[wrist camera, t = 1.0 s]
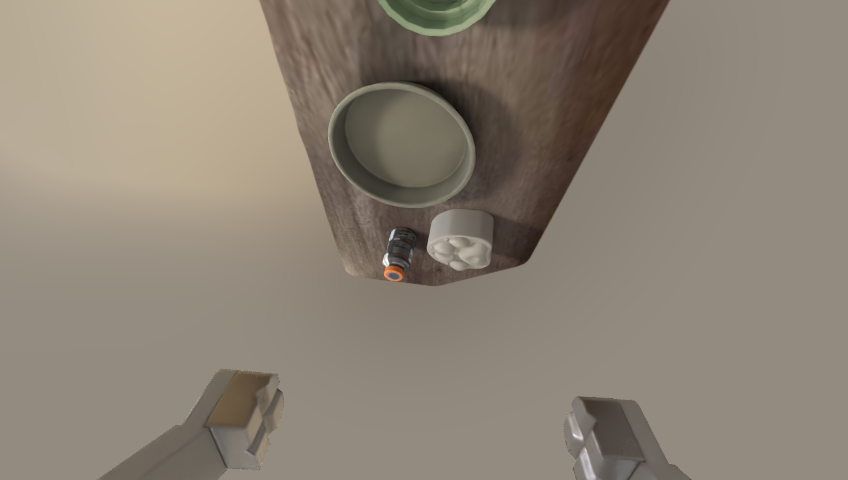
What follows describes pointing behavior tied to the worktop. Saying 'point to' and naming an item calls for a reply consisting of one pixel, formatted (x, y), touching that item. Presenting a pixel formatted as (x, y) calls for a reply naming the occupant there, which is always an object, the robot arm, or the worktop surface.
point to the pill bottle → (399, 253)
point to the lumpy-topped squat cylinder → (462, 238)
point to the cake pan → (402, 144)
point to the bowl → (436, 14)
